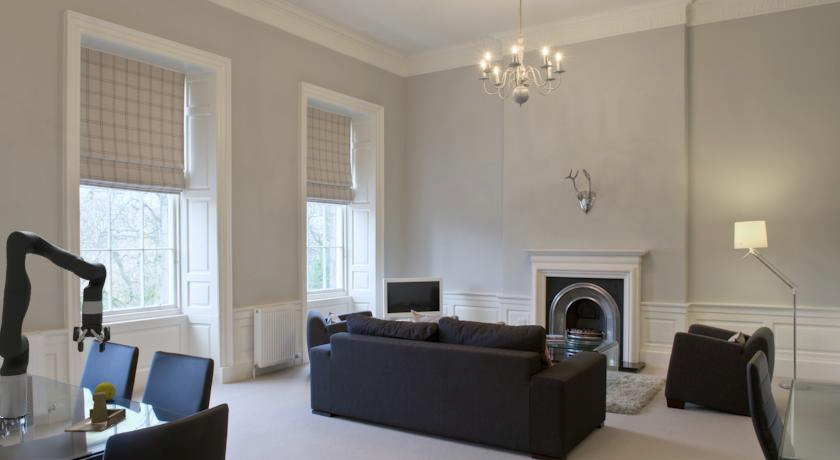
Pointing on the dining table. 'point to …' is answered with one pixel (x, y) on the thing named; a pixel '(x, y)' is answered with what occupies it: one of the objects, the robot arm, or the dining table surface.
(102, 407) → the olive double-lobed piece
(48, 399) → the dining table surface
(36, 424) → the dining table surface
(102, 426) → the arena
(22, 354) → the robot arm
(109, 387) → the lemon
